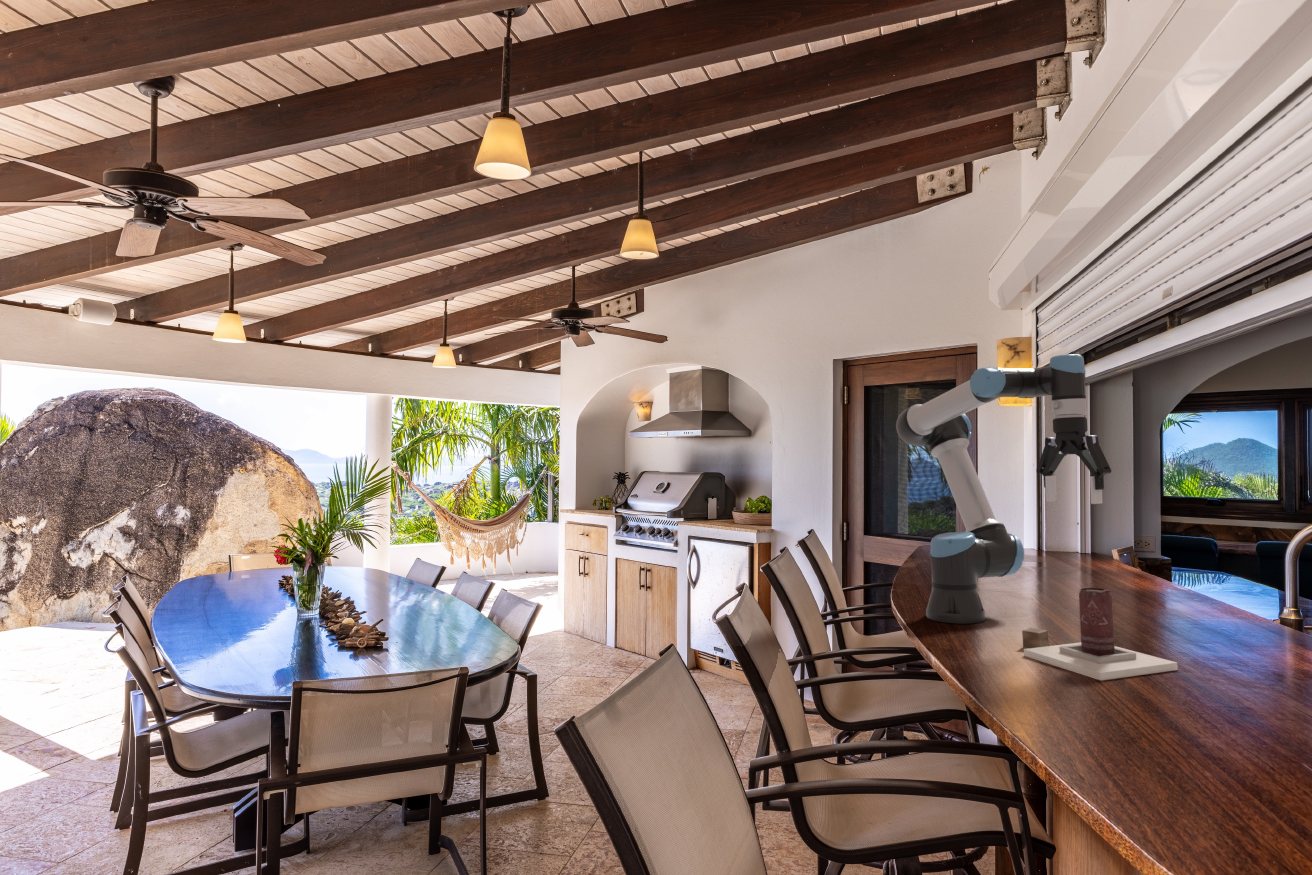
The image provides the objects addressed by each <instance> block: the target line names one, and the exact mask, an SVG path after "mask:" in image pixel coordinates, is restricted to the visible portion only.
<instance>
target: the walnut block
mask: <svg viewBox="0 0 1312 875" xmlns="http://www.w3.org/2000/svg"><path fill="white" fill-rule="evenodd" d="M1021 634H1022V647H1023V649H1029V648H1038V647H1046V646H1050V645H1049V631H1048V629H1040V628H1033V627H1029V628H1026V629H1023V630H1022V633H1021Z"/></svg>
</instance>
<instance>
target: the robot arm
mask: <svg viewBox="0 0 1312 875" xmlns="http://www.w3.org/2000/svg"><path fill="white" fill-rule="evenodd" d="M1084 359H1085V358H1084V357H1083V356H1082V355H1081V354H1077V353H1075V354H1072V353H1071V354H1069V353H1068V354H1059V355H1054V356H1052V357H1050V358H1049V363H1048V365H1046V366H1042V367H1041V366H1040V367H1032V368H1030V367H1029V368H1028V367H995V366H987V367H980V368H978V369H976V370H974V372H973V374H971V376H970V379H969V380H967V381H965V382H963V383H961V384H960V385H957V386H955V387H954V388H951V389H950V390H948V391H946V392H944V393H941V394H940V395H938V396H936V397H934V398H932V399H930V400H928V401H926V402H925V403H923V404H920V403H916V404H914V405H911V406H910V407H908V408H906V409H904V410H903V411H902V412H901V413H900V414H899V416H898V417H897V419H896V423H895V428H896V432H897V435H898V437H899V438H900V439H901V440H902V441H903V442H904V443H906V444H907V445H911V446H913V447H927V448H928V451H929V453H930V455H931V457H932V458H936V459H938V462H939V464H940V467H941V469H942V471H943V472H942V473H943V474H944V476H945V479H946V482H947V484H948V487H949V490H950V492H951V495H952V497H953V499H954V502H955V504H956V508H957V510H958V513H959V515H960V517H961V520H962V523H963V525H964V528H965V531H955V532H952V531H951V532H944V533H940V534H936V535H934V536H933V537H932V538H931V541H930V549H929V554H930V571H931V592H930V595H929V599H928V604H927V606H926V609H925V611H926V612H925V613H926V618H927V619H928V620H931V621H934V622H940V623H946V624H947V623H949V624H959V625H960V624H962V625H963V624H964V625H965V624H978V623H982V622H984V621H985V620H986V611H985V608H984V606H983V603H982V601H981V600H982V599H981V598H980V595H979V593H978V584H977V583H978V580H977V579H982V578H984V579H985V578H993V577H994V578H995V577H999V578H1002V577H1005V576H1011V575H1013V574H1016V573H1017V572H1018V571H1019V570H1020V568H1021V567H1022V565H1023V561H1024V560H1025V559H1024V558H1025V548H1024V545H1023V543H1022V541H1021V539H1020V538H1019V537H1018V536H1017V535H1015V534H1012V533H1009V532H1008V531H1007V528H1006V526H1005V524H1004V523H1003V522H1001V521H999V520H997V519H996V516H995V514H994V512H993V509H992V507H991V505H990V503H989V500H988V498H987V495H986V492H985V490H984V488H983V486H982V483H981V480H980V478H979V475H978V473H977V471H976V469H975V466H974V464H973V461H972V459H971V457H970V454H969V451H968V447H969V446H970V439H971V436H972V432H971V431H972V429H973V427H972V422H971V421H970V419H969V417H968V416H967V415H966V414H967V413H968V412H970V411H973V410H975V409H977V408H980V407H981V406H983V405H986V404H988V403H991V402H992V401H995V400H997V399H1000V398H1020V399H1034V398H1039V397H1047V396H1051V409H1052V416H1053V417H1055V418H1053V419H1052V432H1053V433H1054V434H1055V436H1054V437H1053V436H1051V437H1049V436H1048V437H1045V438H1044V447H1043V451H1042V453H1041V456H1040V457H1039V458H1040V459H1039V461H1038V465H1037V467H1036V473H1037V474H1041V475H1042V476H1043V486H1044V489H1045V501H1046V502H1048V503H1049V502H1058V495H1057V493H1058V492H1057V491H1058V490H1057V475H1055V472H1056V470H1057V469H1058V467H1059V466H1060V464H1061V462H1062V461H1063V459H1065V457H1066V456H1067V455H1076V456H1078V457H1079V458H1080V460H1081V461H1082V463H1083V464H1084V465H1085V467H1086V468H1087V469H1088V471H1089V472H1090V473H1091V475H1090V476H1089V487H1090V504H1091V505H1095V504H1096V505H1098V504H1099V505H1100V504H1103V490H1105V487H1104V486H1105V484H1104V480H1105V479H1104V478H1105V475H1107V474H1112V468H1111V467H1110V465H1109V462H1108V460H1107V458H1106V455H1105V454H1104V452H1103V450H1102V448H1101V446H1100V444H1099V443H1100V442H1099V437H1098V435H1096V434H1094V435H1093V434H1092V435H1091V434H1090V435H1089V434H1087V435H1086V432H1088V429H1089V428H1088V418H1087V417H1086V415H1088V410H1087V396H1086V395H1087V394H1086V393H1087V392H1086V368H1085V360H1084Z"/></svg>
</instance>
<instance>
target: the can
mask: <svg viewBox="0 0 1312 875" xmlns="http://www.w3.org/2000/svg"><path fill="white" fill-rule="evenodd" d="M1078 600H1079V602H1078V603H1079V622H1080V625H1079V626H1080V642H1081V649H1082V652H1085V653H1088V654H1092V655H1095V656H1105V655H1113V654H1115V647H1114V646H1115V630H1114V609H1113V608H1114V605H1113V604H1114V599H1113V592H1112V590H1110V589H1105V588H1098V587H1087V588H1086V587H1084V588H1081V589H1080V591H1079V592H1078Z"/></svg>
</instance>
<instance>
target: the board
mask: <svg viewBox="0 0 1312 875" xmlns="http://www.w3.org/2000/svg"><path fill="white" fill-rule="evenodd" d="M1114 647H1115V654H1113V655H1105V656H1095V655H1092V654H1088V653H1085V652H1082V649H1081V641H1080V642H1074V643H1065V644H1064V643H1063V644H1058V645H1055V644H1054V645H1049V646H1046V647H1038V648H1023V656H1024V657H1026V658H1029V659H1032V660H1036V661H1038V662H1042V663H1045V664H1048V665H1050V666H1055V667H1057V668H1061V669H1064V670H1066V671H1070V672H1073V673H1077V674H1079V675H1082V676H1085V677H1089V678H1093V679H1094V680H1098V681H1107V680H1116V679H1121V678H1122V679H1123V678H1128V677H1137V676H1142V675H1143V676H1144V675H1150V674H1151V675H1152V674H1158V673H1165V672H1172V671H1178V662H1177V661H1172V660H1169V659H1164V658H1163V657H1162V658H1161V657H1158V656H1154V655H1149V654H1146V653H1143V652H1140V651H1139V652H1138V651H1134V650H1130V649H1127V648H1124V647H1119V646H1117V645H1116V646H1115V645H1114Z"/></svg>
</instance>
